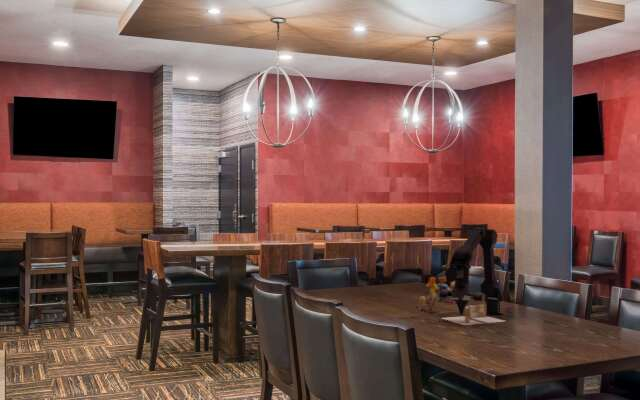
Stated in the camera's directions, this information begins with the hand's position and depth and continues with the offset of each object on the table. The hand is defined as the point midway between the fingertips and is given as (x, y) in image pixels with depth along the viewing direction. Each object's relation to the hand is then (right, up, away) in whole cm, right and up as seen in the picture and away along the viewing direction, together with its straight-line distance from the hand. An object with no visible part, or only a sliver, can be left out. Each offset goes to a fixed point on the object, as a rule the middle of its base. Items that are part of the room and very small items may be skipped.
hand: (461, 315), depth 298 cm
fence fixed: (+9, -3, +12) cm, 15 cm away
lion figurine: (-10, -3, +29) cm, 31 cm away
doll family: (+1, -3, +58) cm, 58 cm away
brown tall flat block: (+3, -3, +4) cm, 6 cm away
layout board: (+6, -3, +5) cm, 9 cm away
